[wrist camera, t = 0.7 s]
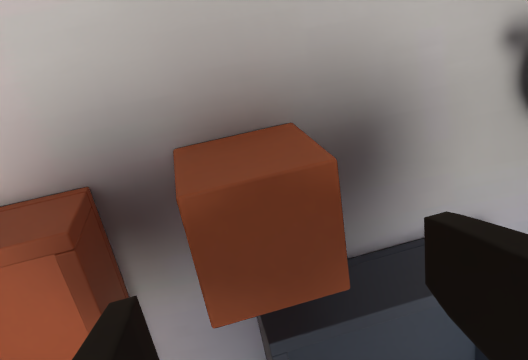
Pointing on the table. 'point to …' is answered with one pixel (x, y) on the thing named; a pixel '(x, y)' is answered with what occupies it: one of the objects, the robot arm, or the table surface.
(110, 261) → the terracotta bin
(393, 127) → the table surface
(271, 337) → the slate bin
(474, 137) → the table surface
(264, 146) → the terracotta block
